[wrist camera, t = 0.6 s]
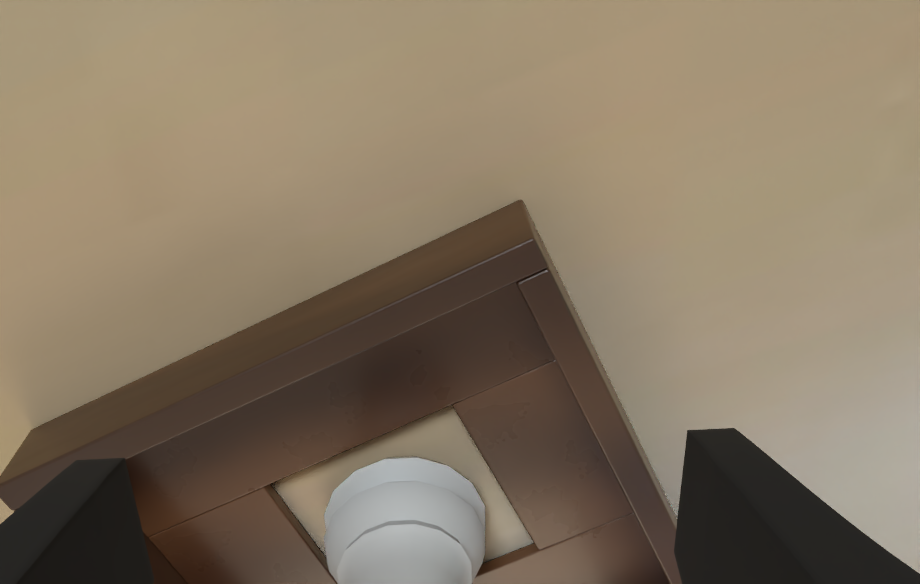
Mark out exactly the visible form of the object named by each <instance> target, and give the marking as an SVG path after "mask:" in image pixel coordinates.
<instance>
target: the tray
mask: <svg viewBox="0 0 920 584" xmlns="http://www.w3.org/2000/svg"><path fill="white" fill-rule="evenodd" d="M452 404H453V407H454V409H455V410H456V412H457V414H458V415H459V417H460V419H461V421H462V422H463V424H464V426H465V427H466V429H467V431H468V432H469V434H470V436H471V437H472V439H473V441H474V442H475V444H476V446H477V447H478V449H479V451H480V452H481V454H482V456H483V458H484V459H485V461H486V463H487V464H488V466H489V468H490V469H491V471H492V473H493V474H494V476H495V478H496V479H497V481H498V483H499V484H500V486H501V488H502V489H503V491H504V493H505V494H506V496H507V498H508V500H509V501H510V503H511V505H512V506H513V508H514V510H515V511H516V513H517V515H518V516H519V518H520V520H521V521H522V523H523V525H524V526H525V528H526V530H527V531H528V533H529V535H530V536H531V538H532V540H533V542H534V543H533V544H531V545H528V546H526V547H523V548H521V549H518V550H516V551H513V552H511V553H508V554H506V555H503V556H501V557H498V558H496V559H493V560H491V561H488V562H486V563H483V564H482V565H481V567H480V569H479V571H478V573H477V575H476V576H475V578H474V580H473V582H472V584H682V581H681V578H680V574H679V570H678V566H677V562H676V558H675V554H674V545H675V537H676V528H677V518H676V516H675V514H674V512H673V510H672V508H671V506H670V504H669V502H668V500H667V498H666V496H665V494H664V492H663V489H662V487H661V485H660V483H659V481H658V479H657V477H656V475H655V473H654V471H653V469H652V467H651V465H650V463H649V461H648V458H647V456H646V454H645V452H644V450H643V448H642V446H641V444H640V442H639V440H638V438H637V436H636V434H635V432H634V430H633V427H632V425H631V423H630V421H629V419H628V417H627V415H626V413H625V411H624V409H623V407H622V405H621V403H620V401H619V399H618V396H617V394H616V392H615V390H614V388H613V386H612V384H611V382H610V380H609V378H608V376H607V374H606V372H605V370H604V368H603V365H602V363H601V361H600V359H599V357H598V355H597V353H596V351H595V349H594V347H593V345H592V343H591V341H590V339H589V337H588V334H587V332H586V330H585V328H584V326H583V324H582V322H581V320H580V318H579V316H578V314H577V312H576V310H575V308H574V306H573V303H572V301H571V299H570V297H569V295H568V293H567V291H566V289H565V287H564V285H563V283H562V281H561V279H560V277H559V275H558V272H557V270H556V268H555V266H554V264H553V262H552V260H551V258H550V256H549V254H548V252H547V250H546V248H545V246H544V244H543V241H542V239H541V237H540V235H539V233H538V231H537V230H536V228H535V225H534V223H533V221H532V219H531V217H530V215H529V212H528V210H527V208H526V206H525V204H524V202H523V201H522V200H518V201H516V202H514V203H512V204H510V205H508V206H506V207H504V208H501V209H499V210H497V211H495V212H493V213H491V214H489V215H487V216H484V217H482V218H480V219H478V220H476V221H474V222H472V223H470V224H467V225H465V226H463V227H461V228H459V229H457V230H455V231H453V232H450V233H448V234H446V235H444V236H442V237H440V238H438V239H436V240H433V241H431V242H429V243H427V244H425V245H423V246H421V247H419V248H417V249H414V250H412V251H410V252H408V253H406V254H404V255H402V256H400V257H397V258H395V259H393V260H391V261H389V262H387V263H385V264H383V265H380V266H378V267H376V268H374V269H372V270H370V271H368V272H366V273H363V274H361V275H359V276H357V277H355V278H353V279H351V280H349V281H346V282H344V283H342V284H340V285H338V286H336V287H334V288H332V289H329V290H327V291H325V292H323V293H321V294H319V295H317V296H315V297H312V298H310V299H308V300H306V301H304V302H302V303H300V304H298V305H295V306H293V307H291V308H289V309H287V310H285V311H283V312H281V313H278V314H276V315H274V316H272V317H270V318H268V319H266V320H264V321H261V322H259V323H257V324H255V325H253V326H251V327H249V328H247V329H244V330H242V331H240V332H238V333H236V334H234V335H232V336H230V337H228V338H225V339H223V340H221V341H219V342H217V343H215V344H213V345H211V346H208V347H206V348H204V349H202V350H200V351H198V352H196V353H194V354H191V355H189V356H187V357H185V358H183V359H181V360H179V361H177V362H174V363H172V364H170V365H168V366H166V367H164V368H162V369H160V370H157V371H155V372H153V373H151V374H149V375H147V376H145V377H143V378H140V379H138V380H136V381H134V382H132V383H130V384H128V385H126V386H123V387H121V388H119V389H117V390H115V391H113V392H111V393H109V394H106V395H104V396H102V397H100V398H98V399H96V400H94V401H92V402H89V403H87V404H85V405H83V406H81V407H79V408H77V409H75V410H72V411H70V412H68V413H66V414H64V415H62V416H60V417H58V418H55V419H53V420H51V421H49V422H47V423H45V424H43V425H41V426H39V427H36V428H34V429H32V430H31V431H30V433H29V434H28V436H27V437H26V439H25V440H24V441H23V443H22V444H21V446H20V447H19V449H18V450H17V452H16V453H15V455H14V456H13V458H12V459H11V461H10V462H9V464H8V465H7V467H6V468H5V470H4V471H3V473H2V474H1V476H0V498H1V499H2V500H3V501H4V503H5V504H6V505H7V506H8V507H9V508H10V509H11V510H15V511H16V510H17V509H19V508H20V507H21V506H22V505H23V504H24V503H26V502H27V501H28V500H29V499H30V498H31V497H32V496H34V495H35V494H36V493H37V492H38V491H39V490H41V489H42V488H43V487H44V486H45V485H46V484H48V483H49V482H50V481H51V480H52V479H53V478H55V477H56V476H57V475H58V474H59V473H61V472H62V471H63V470H64V469H66V468H67V467H68V466H69V465H71V464H72V463H73V462H75V461H76V460H88V459H109V458H125V460H126V465H127V469H128V473H129V477H130V481H131V485H132V489H133V494H134V498H135V502H136V506H137V510H138V514H139V518H140V522H141V527H142V531H143V535H144V539H145V543H146V547H147V551H148V555H149V560H150V564H151V568H152V572H153V576H154V583H153V584H338V583H337V582H336V580H335V579H334V577H333V576H332V575H331V573H330V572H329V568H328V564H327V560H326V558H325V556H324V555H323V554H322V552H321V551H320V550H319V548H318V547H317V546H316V544H315V543H314V542H313V540H312V539H311V538H310V536H309V535H308V534H307V532H306V531H305V530H304V528H303V527H302V526H301V524H300V523H299V522H298V520H297V519H296V518H295V516H294V515H293V514H292V512H291V511H290V510H289V508H288V507H287V506H286V504H285V503H284V502H283V501H282V499H281V498H280V497H279V495H278V494H277V493H276V491H275V490H274V489H273V487H272V486H271V485H270V484H271V483H273V482H275V481H278V480H280V479H282V478H285V477H287V476H289V475H292V474H294V473H296V472H298V471H301V470H303V469H305V468H308V467H310V466H312V465H314V464H317V463H319V462H321V461H324V460H326V459H328V458H330V457H333V456H335V455H337V454H340V453H342V452H344V451H347V450H349V449H351V448H353V447H356V446H358V445H360V444H363V443H365V442H367V441H369V440H372V439H374V438H376V437H379V436H381V435H383V434H385V433H388V432H390V431H392V430H395V429H397V428H399V427H402V426H404V425H406V424H408V423H411V422H413V421H415V420H418V419H420V418H422V417H424V416H427V415H429V414H431V413H434V412H436V411H438V410H440V409H443V408H445V407H447V406H450V405H452ZM15 511H14V512H15Z"/></svg>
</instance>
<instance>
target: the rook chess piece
mask: <svg viewBox="0 0 920 584" xmlns="http://www.w3.org/2000/svg"><path fill="white" fill-rule="evenodd" d="M324 518H325V526H326V533H325V536H324V544H325V552H326V560H327V564H328V568H329V572H330V573H331V575H332V576H333V577H334V579H335V580H336V582H337V583H338V584H472V582H473V580H474V578H475V576H476V575H477V573H478V571H479V569H480V567H481V565H482V563H483V559H484V556H485V505H484V503H483V502H482V500H481V498H480V496H479V495H478V493H477V491H476V489H475V487H474V486H473V484H472V483H471V482H470V481H468V480H467V479H466V478H464V477H463V476H462V475H460V474H459V473H457V472H456V471H455V470H453V469H452V468H451V467H449V466H447V465H445V464H442V463H438V462H435V461H431V460H428V459H424V458H421V457H417V456H410V457H390V458H386V459H383V460H381V461H378V462H376V463H373V464H371V465H368V466H366V467H363V468H361V469H358V470H356V471H354V472H353V473H352V474H351V475H350V476H349V477H348V478H347V479H346V480H345V481H343V482H342V483H341V484H340V485H339V486H338V487H337V488H336V489H335V490H334V491H333V494H332V496H331V499H330V501H329V504H328V506H327V509H326V511H325V514H324Z"/></svg>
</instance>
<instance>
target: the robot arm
mask: <svg viewBox="0 0 920 584" xmlns="http://www.w3.org/2000/svg"><path fill="white" fill-rule="evenodd" d="M674 554H675V558H676V562H677V566H678V570H679V574H680V578H681V581H682V584H920V574H919V573H918V572H916V571H915V570H913V569H912V568H911V567H909V566H908V565H906V564H905V563H903V562H902V561H901V560H899V559H898V558H896V557H895V556H894V555H892V554H891V553H889V552H888V551H887V550H885V549H884V548H883V547H881V546H880V545H879V544H877V543H876V542H875V541H873V540H872V539H871V538H869V537H868V536H867V535H865V534H864V533H863V532H862V531H860V530H859V529H858V528H856V527H855V526H854V525H852V524H851V523H850V522H849V521H847V520H846V519H845V518H844V517H842V516H841V515H840V514H839V513H837V512H836V511H835V510H833V509H832V508H831V507H830V506H828V505H827V504H826V503H825V502H823V501H822V500H821V499H820V498H819V497H817V496H816V495H815V494H814V493H812V492H811V491H810V490H809V489H808V488H806V487H805V486H804V485H803V484H802V483H800V482H799V481H798V480H797V479H795V478H794V477H793V476H792V475H791V474H789V473H788V472H787V471H786V470H785V469H783V468H782V467H781V466H780V465H779V464H777V463H776V462H775V461H774V460H773V459H772V458H770V457H769V456H768V455H767V454H766V453H764V452H763V451H762V450H761V449H760V448H758V447H757V446H756V445H755V444H754V443H752V442H751V441H750V440H749V439H747V438H746V437H745V436H744V435H742V434H741V433H740V432H739V431H737V430H736V429H735V428H727V429H707V430H688V431H687V440H686V448H685V457H684V466H683V475H682V484H681V493H680V501H679V510H678V519H677V528H676V537H675V545H674ZM153 583H154V576H153V572H152V568H151V564H150V560H149V555H148V551H147V547H146V543H145V539H144V535H143V531H142V527H141V522H140V518H139V514H138V510H137V506H136V502H135V498H134V494H133V489H132V485H131V481H130V477H129V473H128V469H127V465H126V460H125V458H109V459H88V460H76V461H75V462H73V463H72V464H71V465H69V466H68V467H67V468H66V469H64V470H63V471H62V472H61V473H59V474H58V475H57V476H56V477H55V478H53V479H52V480H51V481H50V482H49V483H48V484H46V485H45V486H44V487H43V488H42V489H41V490H39V491H38V492H37V493H36V494H35V495H34V496H32V497H31V498H30V499H29V500H28V501H27V502H26V503H24V504H23V505H22V506H21V507H20V508H19V509H17V510H16V511H15V512H14V513H13V514H12V515H11V516H9V517H8V518H7V519H6V520H5V521H4V522H2V523H1V524H0V584H153Z"/></svg>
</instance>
